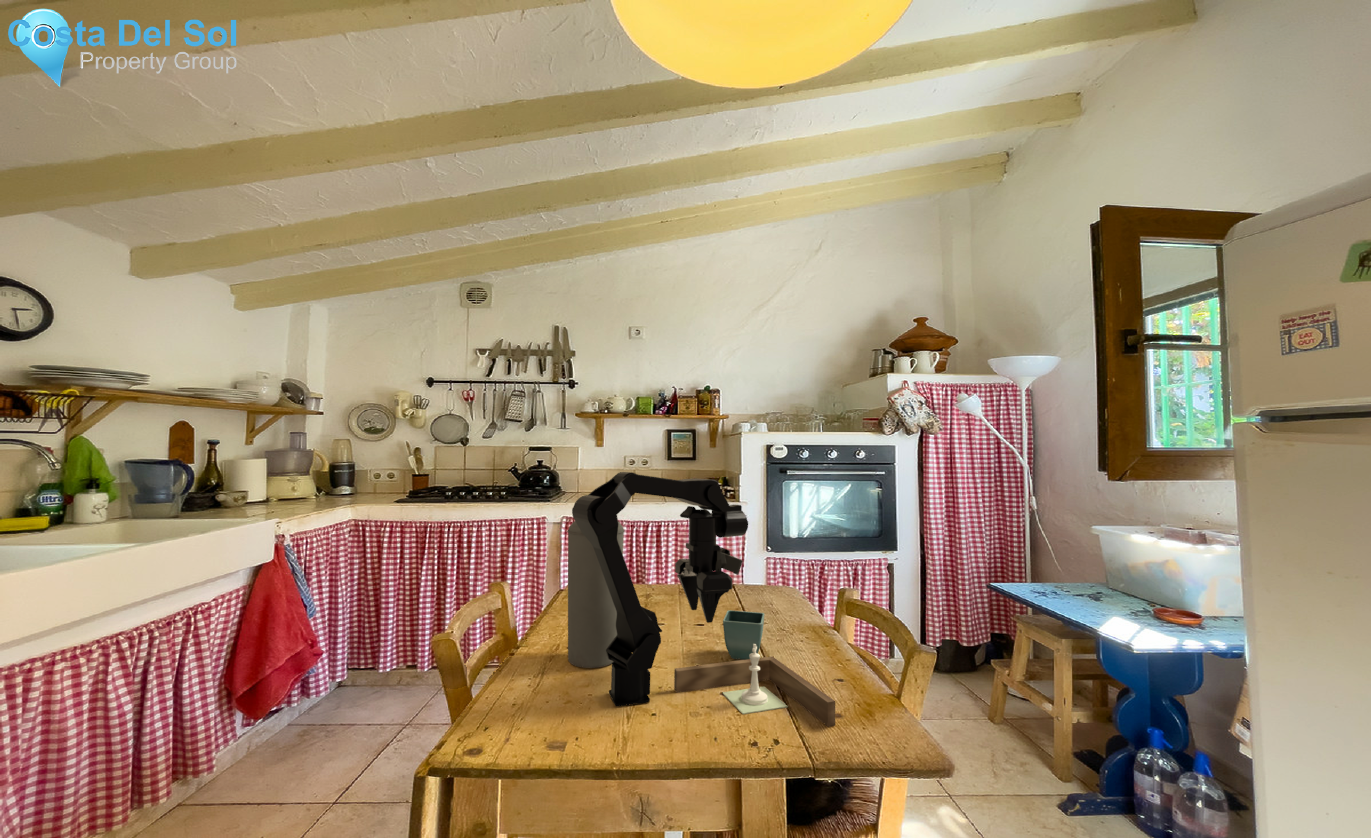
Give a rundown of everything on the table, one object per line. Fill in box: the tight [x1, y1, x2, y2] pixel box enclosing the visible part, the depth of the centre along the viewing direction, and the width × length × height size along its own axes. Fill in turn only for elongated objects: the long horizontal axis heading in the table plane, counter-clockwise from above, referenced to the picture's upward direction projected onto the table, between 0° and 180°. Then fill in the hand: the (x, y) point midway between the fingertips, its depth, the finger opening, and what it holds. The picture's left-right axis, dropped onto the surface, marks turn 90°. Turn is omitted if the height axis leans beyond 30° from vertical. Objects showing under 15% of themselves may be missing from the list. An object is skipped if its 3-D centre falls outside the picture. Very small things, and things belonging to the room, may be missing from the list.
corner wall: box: [673, 656, 836, 728], centre depth 100 cm, size 22×22×4 cm
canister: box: [566, 520, 626, 669], centre depth 122 cm, size 13×13×35 cm
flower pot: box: [722, 610, 765, 660], centre depth 125 cm, size 9×9×9 cm
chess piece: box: [741, 644, 768, 705], centre depth 102 cm, size 5×5×10 cm
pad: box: [722, 686, 789, 715], centre depth 102 cm, size 9×9×1 cm
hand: (701, 615), depth 113 cm, fingers open, 9 cm apart
